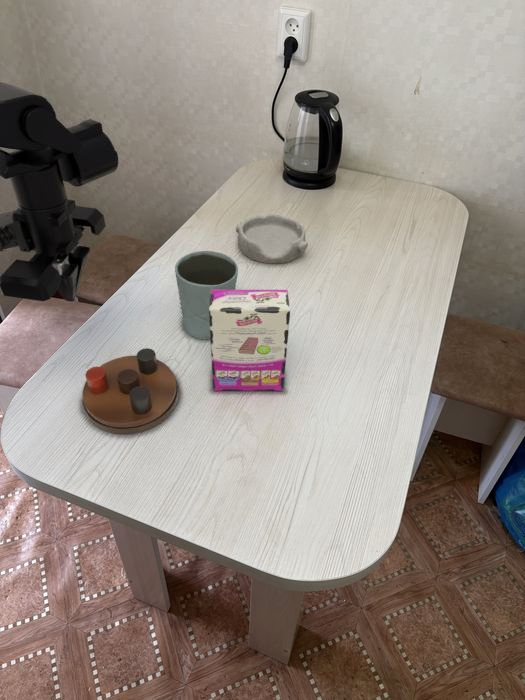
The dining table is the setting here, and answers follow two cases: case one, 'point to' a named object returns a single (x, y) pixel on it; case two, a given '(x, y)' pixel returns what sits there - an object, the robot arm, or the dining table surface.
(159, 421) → the base
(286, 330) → the candy bar box
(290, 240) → the dish
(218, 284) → the grey green pot
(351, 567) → the dining table surface
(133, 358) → the spice rack
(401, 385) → the dining table surface
